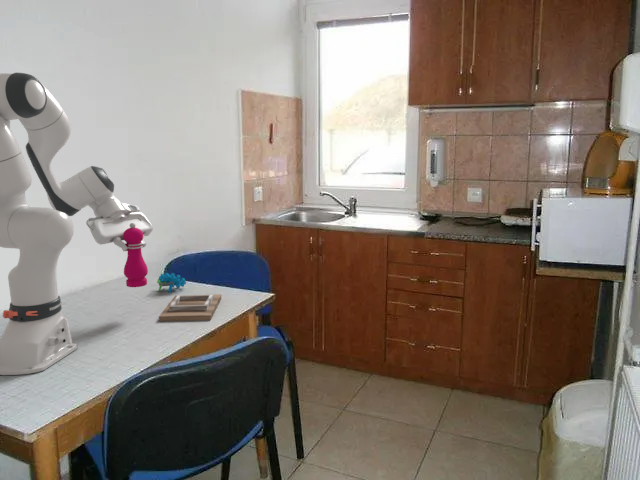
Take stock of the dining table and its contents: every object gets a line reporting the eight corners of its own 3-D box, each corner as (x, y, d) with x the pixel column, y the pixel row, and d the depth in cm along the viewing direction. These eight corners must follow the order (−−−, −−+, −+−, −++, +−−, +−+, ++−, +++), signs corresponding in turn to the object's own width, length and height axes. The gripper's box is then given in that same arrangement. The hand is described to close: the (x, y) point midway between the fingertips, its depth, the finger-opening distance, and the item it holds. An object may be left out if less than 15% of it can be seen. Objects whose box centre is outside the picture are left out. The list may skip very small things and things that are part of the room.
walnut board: (210, 319, 164) (210, 310, 164) (159, 321, 164) (158, 311, 163) (221, 298, 186) (221, 290, 185) (175, 299, 185) (175, 291, 185)
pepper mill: (139, 288, 163) (134, 225, 160) (119, 286, 166) (114, 224, 162) (153, 282, 170) (149, 221, 167) (134, 281, 173) (130, 220, 169)
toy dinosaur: (191, 283, 199) (178, 270, 192) (187, 297, 196) (174, 284, 188) (166, 285, 203) (152, 272, 195) (162, 299, 199) (147, 286, 192)
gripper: (87, 212, 158) (111, 247, 155) (142, 205, 176) (164, 236, 172) (79, 226, 161) (103, 260, 158) (133, 217, 179) (155, 248, 176)
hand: (135, 248), depth 165 cm, fingers closed on pepper mill, 5 cm apart
